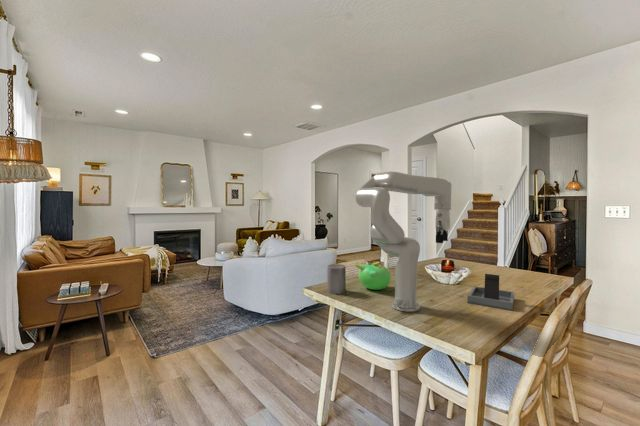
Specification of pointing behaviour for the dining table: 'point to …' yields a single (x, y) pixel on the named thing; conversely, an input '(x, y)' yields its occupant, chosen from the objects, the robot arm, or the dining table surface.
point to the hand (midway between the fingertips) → (441, 241)
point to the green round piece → (374, 276)
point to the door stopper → (491, 286)
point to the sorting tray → (503, 303)
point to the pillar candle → (336, 279)
